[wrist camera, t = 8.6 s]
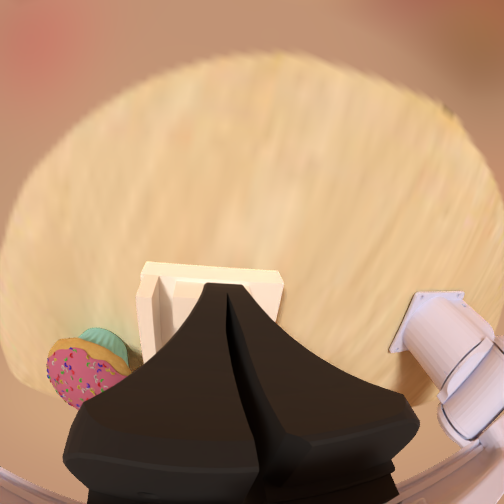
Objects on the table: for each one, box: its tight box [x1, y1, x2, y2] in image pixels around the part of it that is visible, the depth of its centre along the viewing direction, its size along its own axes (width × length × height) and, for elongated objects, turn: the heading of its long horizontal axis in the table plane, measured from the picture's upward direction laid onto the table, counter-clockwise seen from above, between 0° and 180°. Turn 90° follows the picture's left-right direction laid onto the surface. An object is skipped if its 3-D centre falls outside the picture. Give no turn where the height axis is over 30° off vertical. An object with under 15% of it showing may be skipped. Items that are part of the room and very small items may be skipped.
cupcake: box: [46, 328, 132, 410], centre depth 17 cm, size 9×8×12 cm
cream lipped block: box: [136, 261, 284, 363], centre depth 21 cm, size 10×13×5 cm
